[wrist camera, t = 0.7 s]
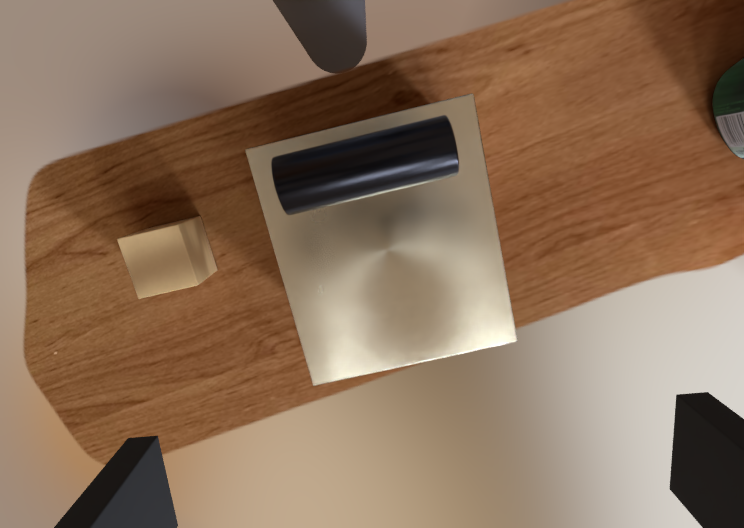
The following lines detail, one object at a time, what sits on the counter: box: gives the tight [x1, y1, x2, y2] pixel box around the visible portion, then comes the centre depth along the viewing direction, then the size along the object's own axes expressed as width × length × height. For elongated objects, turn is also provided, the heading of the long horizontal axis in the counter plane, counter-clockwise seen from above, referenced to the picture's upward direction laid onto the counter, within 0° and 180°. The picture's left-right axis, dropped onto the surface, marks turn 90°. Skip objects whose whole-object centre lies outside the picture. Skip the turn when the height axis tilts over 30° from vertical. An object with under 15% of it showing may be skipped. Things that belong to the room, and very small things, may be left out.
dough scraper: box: [245, 94, 517, 386], centre depth 23 cm, size 14×13×9 cm
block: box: [117, 216, 217, 299], centre depth 36 cm, size 4×4×4 cm
